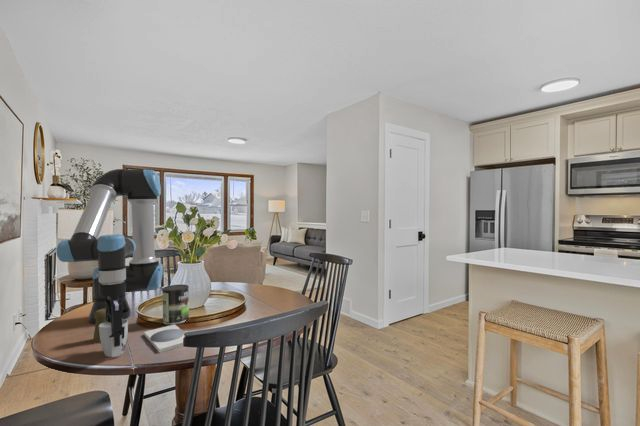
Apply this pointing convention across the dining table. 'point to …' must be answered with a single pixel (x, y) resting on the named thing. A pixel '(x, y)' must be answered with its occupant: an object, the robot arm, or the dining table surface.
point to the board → (165, 338)
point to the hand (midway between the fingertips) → (114, 351)
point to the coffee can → (175, 304)
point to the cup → (106, 332)
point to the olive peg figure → (98, 323)
